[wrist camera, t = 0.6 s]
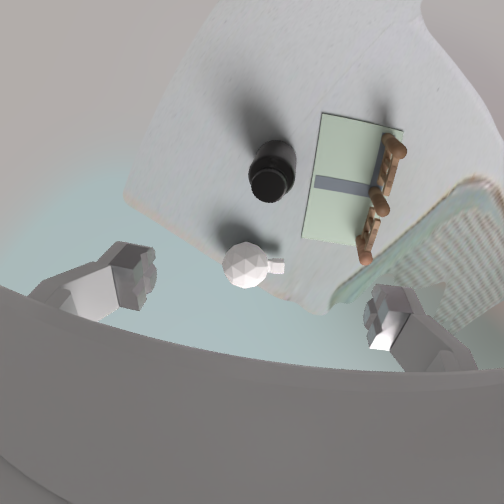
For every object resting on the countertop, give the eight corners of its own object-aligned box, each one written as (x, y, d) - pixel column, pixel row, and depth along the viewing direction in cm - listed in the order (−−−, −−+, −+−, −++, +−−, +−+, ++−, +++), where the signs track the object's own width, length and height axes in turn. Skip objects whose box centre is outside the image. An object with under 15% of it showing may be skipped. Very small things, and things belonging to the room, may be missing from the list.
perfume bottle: (224, 275, 63) (280, 277, 63) (219, 294, 54) (283, 297, 54) (224, 235, 60) (283, 238, 60) (219, 250, 51) (287, 253, 51)
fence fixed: (378, 198, 49) (387, 218, 43) (366, 196, 49) (374, 215, 43) (395, 134, 41) (408, 145, 36) (382, 130, 41) (394, 142, 36)
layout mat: (322, 113, 42) (322, 113, 41) (403, 131, 40) (403, 132, 40) (301, 236, 56) (301, 238, 56) (369, 247, 55) (369, 248, 55)
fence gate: (365, 204, 49) (372, 221, 44) (377, 206, 49) (385, 224, 44) (353, 244, 54) (357, 264, 49) (365, 245, 54) (370, 266, 49)
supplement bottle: (252, 142, 47) (238, 166, 37) (293, 137, 45) (290, 160, 35) (260, 179, 50) (248, 211, 41) (299, 175, 49) (297, 207, 39)
